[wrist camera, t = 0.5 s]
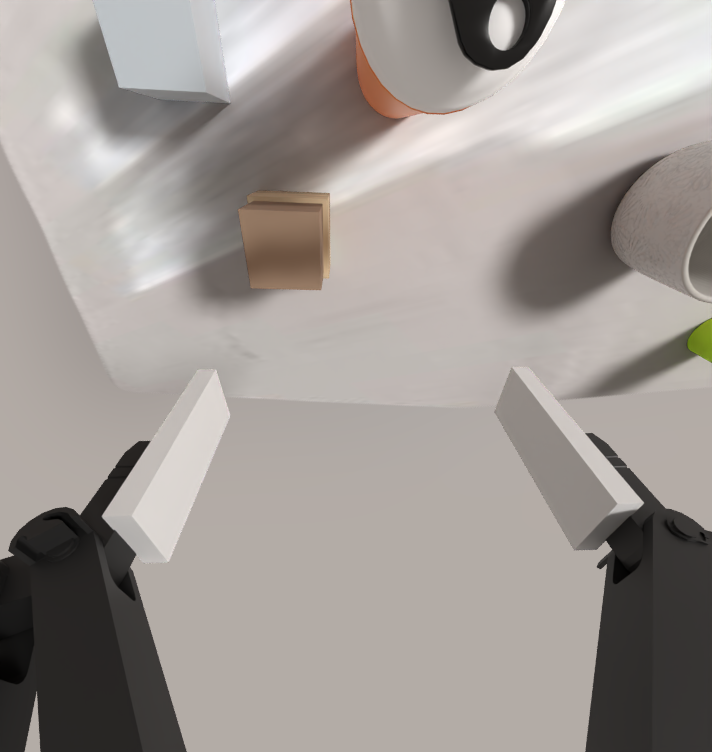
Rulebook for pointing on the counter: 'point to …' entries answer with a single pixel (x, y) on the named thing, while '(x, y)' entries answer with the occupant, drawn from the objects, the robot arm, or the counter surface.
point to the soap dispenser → (702, 340)
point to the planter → (670, 222)
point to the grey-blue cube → (165, 48)
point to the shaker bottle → (444, 50)
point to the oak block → (303, 198)
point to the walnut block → (283, 244)
